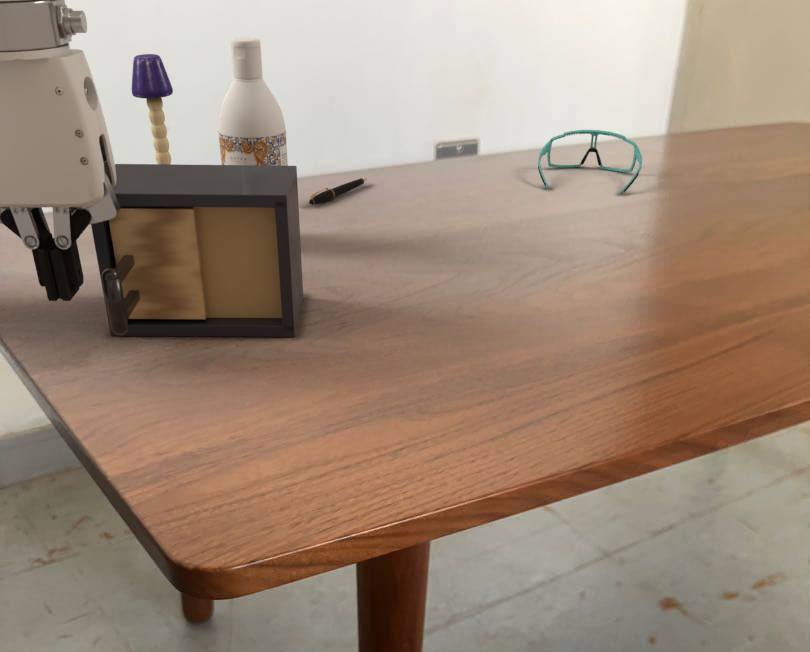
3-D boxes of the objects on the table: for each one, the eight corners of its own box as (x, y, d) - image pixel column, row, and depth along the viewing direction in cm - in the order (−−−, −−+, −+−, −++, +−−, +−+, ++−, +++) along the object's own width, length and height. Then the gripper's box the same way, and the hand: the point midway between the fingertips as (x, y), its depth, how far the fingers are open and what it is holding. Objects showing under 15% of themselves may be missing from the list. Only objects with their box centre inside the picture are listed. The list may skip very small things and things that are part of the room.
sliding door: (106, 349, 74) (84, 231, 69) (127, 315, 80) (108, 205, 75) (192, 349, 74) (178, 232, 69) (207, 316, 80) (194, 206, 75)
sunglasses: (640, 168, 132) (645, 132, 129) (636, 206, 121) (641, 168, 118) (542, 162, 135) (546, 126, 132) (530, 198, 124) (533, 160, 121)
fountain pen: (364, 183, 124) (364, 171, 123) (371, 184, 124) (371, 172, 123) (305, 207, 114) (304, 195, 113) (313, 209, 113) (312, 196, 112)
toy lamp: (173, 213, 111) (153, 59, 101) (140, 209, 112) (118, 56, 103) (194, 203, 115) (177, 53, 105) (162, 199, 116) (142, 51, 106)
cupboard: (110, 336, 80) (84, 193, 73) (136, 295, 88) (115, 163, 81) (294, 337, 80) (286, 195, 73) (303, 296, 88) (296, 165, 82)
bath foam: (217, 247, 100) (195, 40, 89) (248, 229, 106) (231, 33, 94) (273, 255, 99) (259, 45, 87) (302, 237, 104) (292, 37, 92)
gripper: (132, 24, 65) (169, 279, 75) (-80, 23, 65) (-14, 279, 75) (105, 36, 59) (149, 312, 69) (-130, 36, 59) (-50, 312, 69)
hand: (64, 294), depth 72 cm, fingers closed
